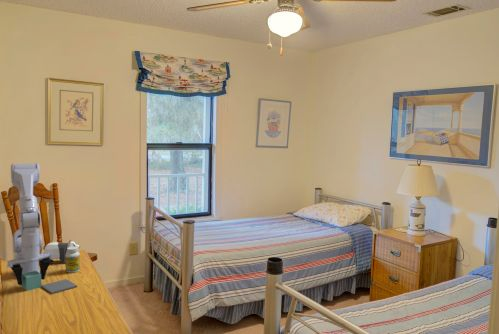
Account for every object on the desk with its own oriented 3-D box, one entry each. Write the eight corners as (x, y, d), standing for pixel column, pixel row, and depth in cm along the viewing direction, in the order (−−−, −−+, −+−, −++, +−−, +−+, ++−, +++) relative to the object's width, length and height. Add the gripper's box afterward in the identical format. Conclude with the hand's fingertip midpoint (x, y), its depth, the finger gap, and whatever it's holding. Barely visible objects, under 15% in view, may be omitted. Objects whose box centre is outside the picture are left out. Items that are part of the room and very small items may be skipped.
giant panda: (41, 265, 167) (41, 243, 166) (45, 261, 172) (44, 239, 171) (79, 263, 171) (78, 241, 170) (81, 259, 176) (80, 238, 175)
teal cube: (21, 287, 144) (21, 274, 143) (36, 283, 148) (35, 270, 147) (26, 291, 140) (26, 277, 140) (41, 287, 144) (41, 274, 144)
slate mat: (41, 287, 144) (41, 285, 144) (66, 280, 151) (66, 278, 151) (51, 294, 138) (51, 292, 138) (77, 287, 145) (77, 285, 145)
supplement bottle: (78, 267, 165) (78, 245, 164) (81, 271, 161) (81, 248, 160) (64, 269, 162) (64, 247, 161) (66, 274, 158) (66, 250, 157)
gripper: (12, 251, 135) (13, 290, 136) (55, 243, 145) (56, 279, 147) (5, 247, 139) (6, 284, 140) (47, 239, 150) (48, 274, 151)
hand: (31, 281), depth 144 cm, fingers open, 7 cm apart
